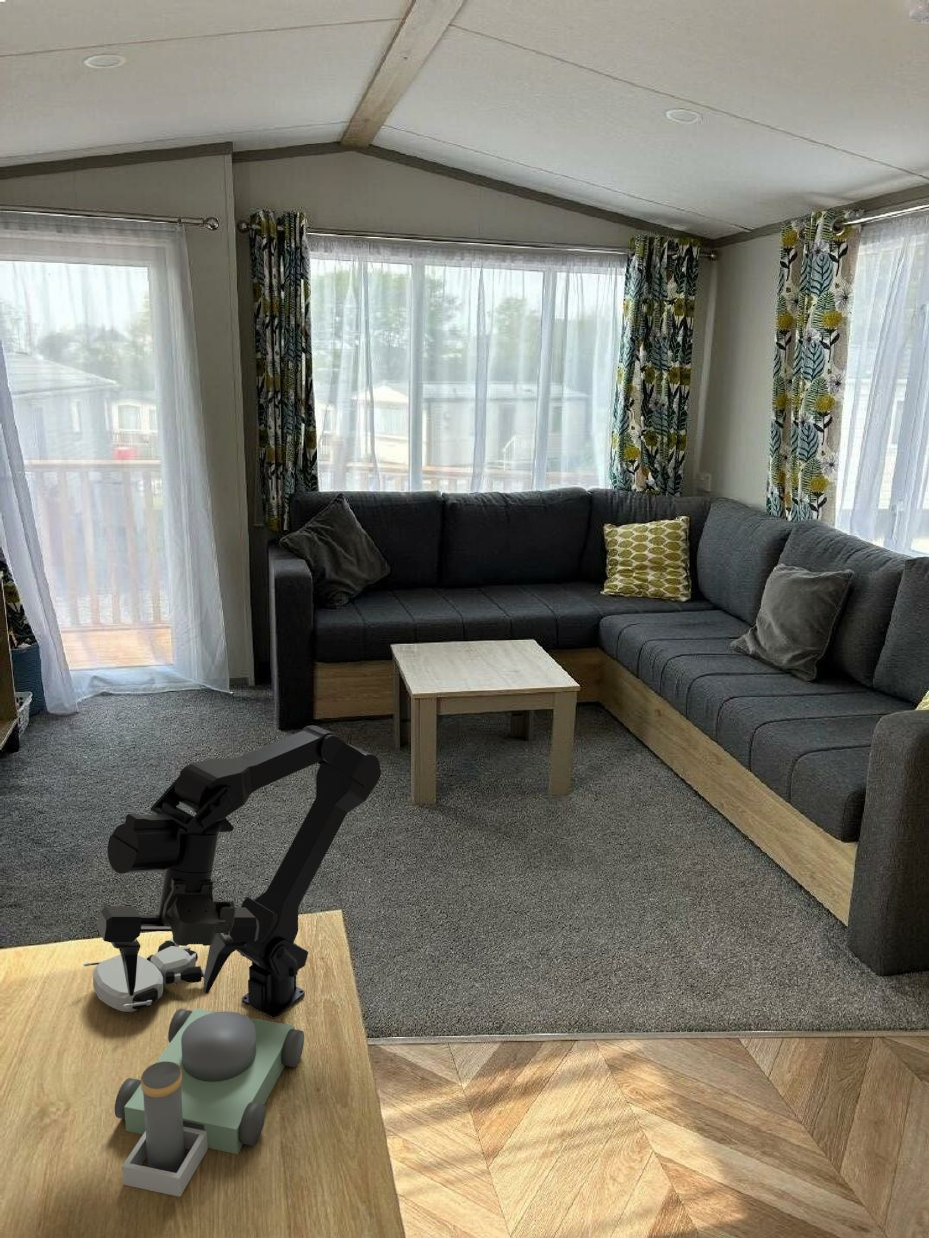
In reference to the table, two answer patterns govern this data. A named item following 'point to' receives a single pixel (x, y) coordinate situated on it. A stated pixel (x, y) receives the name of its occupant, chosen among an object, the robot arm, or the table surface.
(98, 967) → the robot toy
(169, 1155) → the grey banded cylinder
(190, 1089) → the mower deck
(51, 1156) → the table surface
